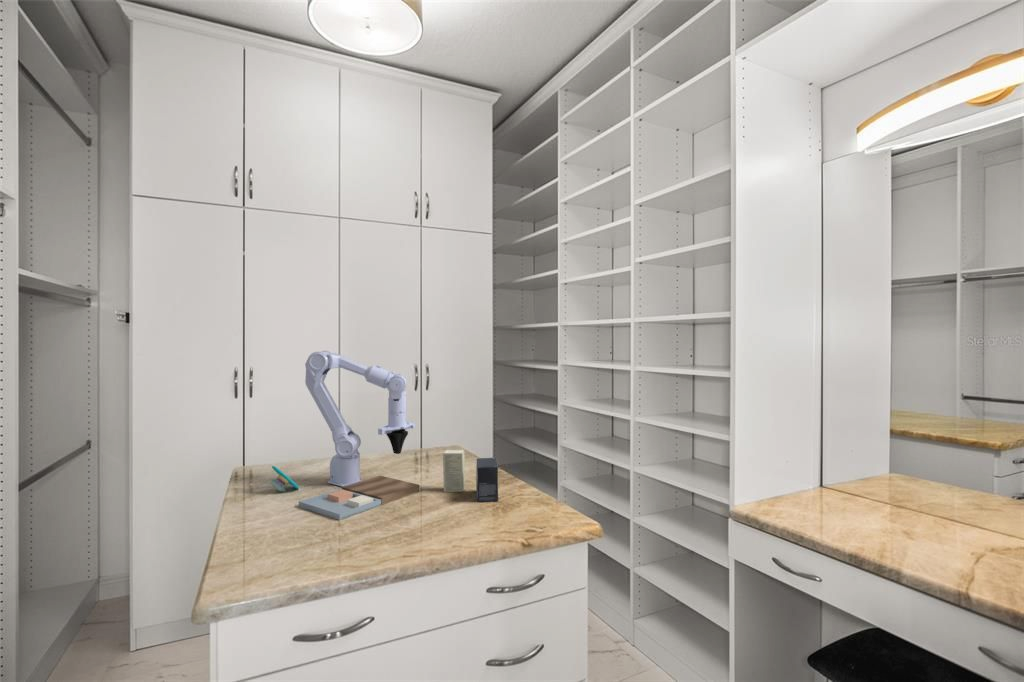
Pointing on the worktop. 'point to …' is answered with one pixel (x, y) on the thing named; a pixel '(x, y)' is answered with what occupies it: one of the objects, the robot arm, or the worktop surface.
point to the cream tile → (359, 501)
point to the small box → (487, 480)
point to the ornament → (281, 481)
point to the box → (336, 506)
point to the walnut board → (383, 488)
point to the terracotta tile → (340, 495)
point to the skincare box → (454, 470)
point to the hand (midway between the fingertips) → (397, 453)
